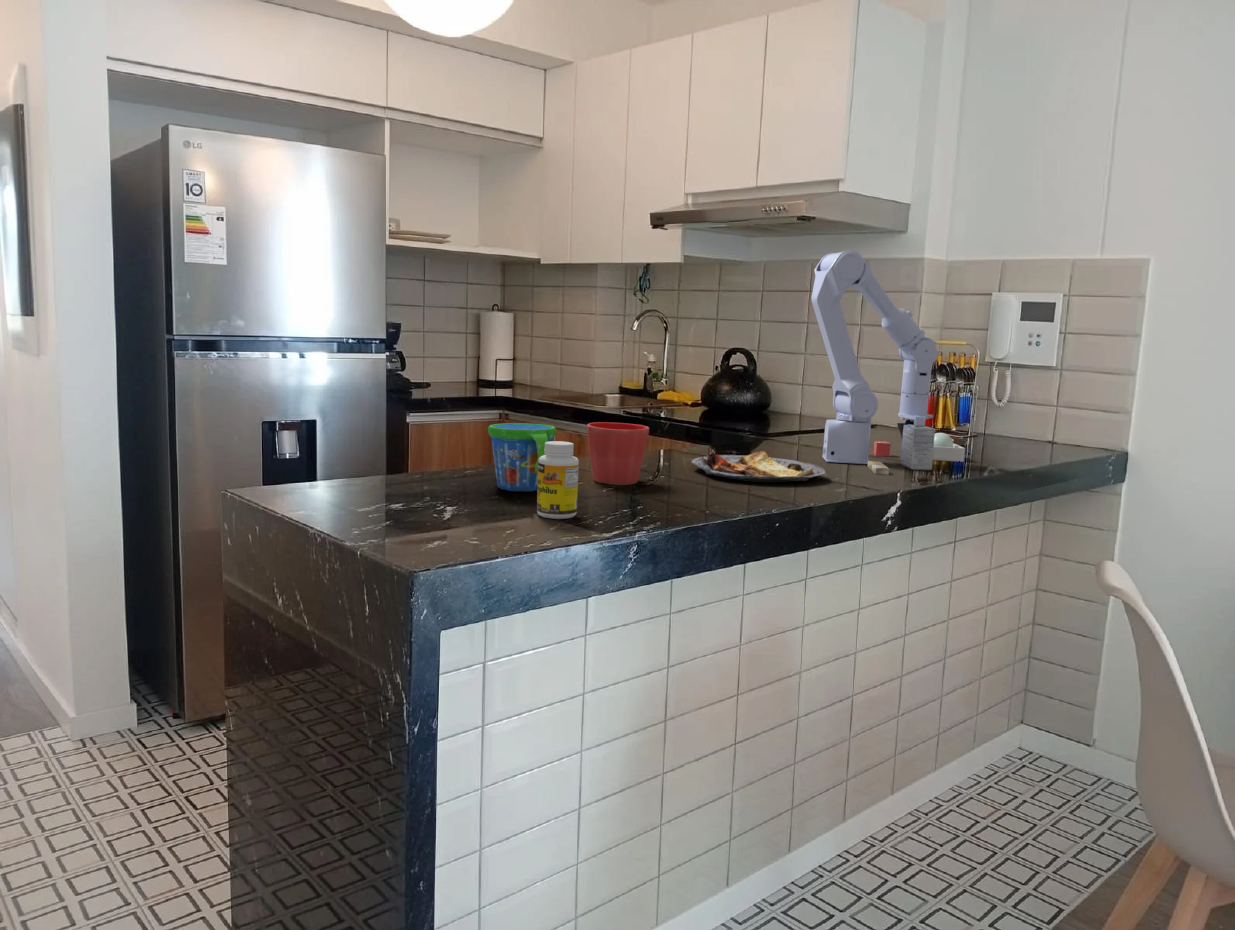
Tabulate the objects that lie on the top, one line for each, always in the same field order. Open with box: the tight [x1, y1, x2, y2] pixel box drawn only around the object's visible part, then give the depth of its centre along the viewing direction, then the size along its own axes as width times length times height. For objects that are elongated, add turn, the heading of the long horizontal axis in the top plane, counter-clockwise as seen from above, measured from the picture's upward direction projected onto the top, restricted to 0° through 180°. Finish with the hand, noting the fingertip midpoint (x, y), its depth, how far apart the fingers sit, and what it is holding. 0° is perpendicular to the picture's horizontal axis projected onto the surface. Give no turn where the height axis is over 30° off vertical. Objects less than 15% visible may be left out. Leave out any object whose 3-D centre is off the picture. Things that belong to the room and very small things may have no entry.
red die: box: [873, 440, 891, 458], centre depth 210 cm, size 3×3×3 cm
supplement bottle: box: [536, 440, 580, 520], centre depth 128 cm, size 6×6×10 cm
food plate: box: [690, 450, 826, 483], centre depth 174 cm, size 25×23×4 cm
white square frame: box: [933, 443, 966, 463], centre depth 210 cm, size 9×9×3 cm
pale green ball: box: [934, 432, 954, 447], centre depth 210 cm, size 6×6×6 cm
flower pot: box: [586, 421, 650, 486], centre depth 159 cm, size 11×11×10 cm
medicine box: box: [900, 425, 936, 471], centre depth 193 cm, size 8×4×9 cm, turn 179°
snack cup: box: [487, 422, 557, 493], centre depth 147 cm, size 16×10×10 cm
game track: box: [867, 460, 890, 476], centre depth 186 cm, size 2×10×1 cm, turn 174°
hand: (909, 456), depth 200 cm, fingers closed
